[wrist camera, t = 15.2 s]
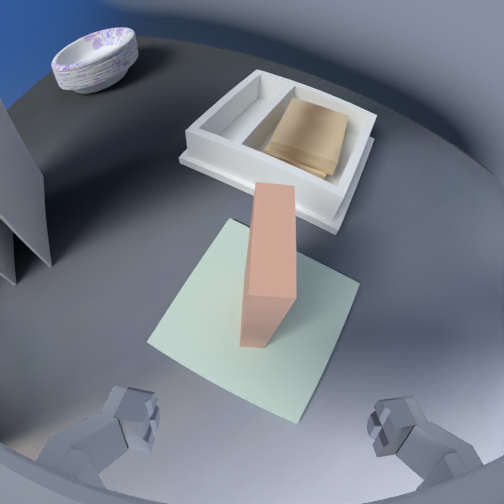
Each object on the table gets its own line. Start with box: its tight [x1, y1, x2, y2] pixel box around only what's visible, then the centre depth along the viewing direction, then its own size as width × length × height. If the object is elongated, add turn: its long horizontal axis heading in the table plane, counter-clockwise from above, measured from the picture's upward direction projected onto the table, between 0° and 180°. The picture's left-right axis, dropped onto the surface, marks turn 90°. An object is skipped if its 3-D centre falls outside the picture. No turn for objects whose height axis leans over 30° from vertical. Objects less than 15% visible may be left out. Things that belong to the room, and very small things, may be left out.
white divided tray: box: [179, 70, 377, 235], centre depth 33 cm, size 19×17×5 cm
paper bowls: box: [52, 28, 138, 94], centre depth 39 cm, size 15×15×8 cm
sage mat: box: [147, 218, 360, 424], centre depth 26 cm, size 14×14×1 cm
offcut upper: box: [268, 98, 348, 175], centre depth 31 cm, size 7×9×2 cm
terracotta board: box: [239, 182, 296, 348], centre depth 20 cm, size 2×6×13 cm, turn 177°
